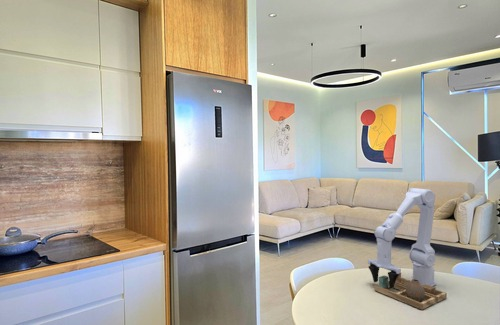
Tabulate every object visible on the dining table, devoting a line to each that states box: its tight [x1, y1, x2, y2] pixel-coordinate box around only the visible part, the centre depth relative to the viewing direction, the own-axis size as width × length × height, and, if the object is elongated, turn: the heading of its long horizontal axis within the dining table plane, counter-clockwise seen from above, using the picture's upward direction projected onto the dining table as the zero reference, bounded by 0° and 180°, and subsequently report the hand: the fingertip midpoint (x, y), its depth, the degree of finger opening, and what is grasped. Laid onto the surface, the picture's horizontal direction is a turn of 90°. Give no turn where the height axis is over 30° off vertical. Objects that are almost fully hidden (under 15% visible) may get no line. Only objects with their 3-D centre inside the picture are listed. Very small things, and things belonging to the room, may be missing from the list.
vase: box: [405, 278, 425, 303], centre depth 125 cm, size 7×7×9 cm
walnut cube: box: [422, 284, 437, 296], centre depth 131 cm, size 4×4×4 cm
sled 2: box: [395, 272, 447, 303], centre depth 135 cm, size 8×20×5 cm, turn 33°
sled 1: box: [373, 275, 437, 310], centre depth 129 cm, size 10×20×5 cm, turn 33°
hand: (383, 284), depth 137 cm, fingers open, 7 cm apart
